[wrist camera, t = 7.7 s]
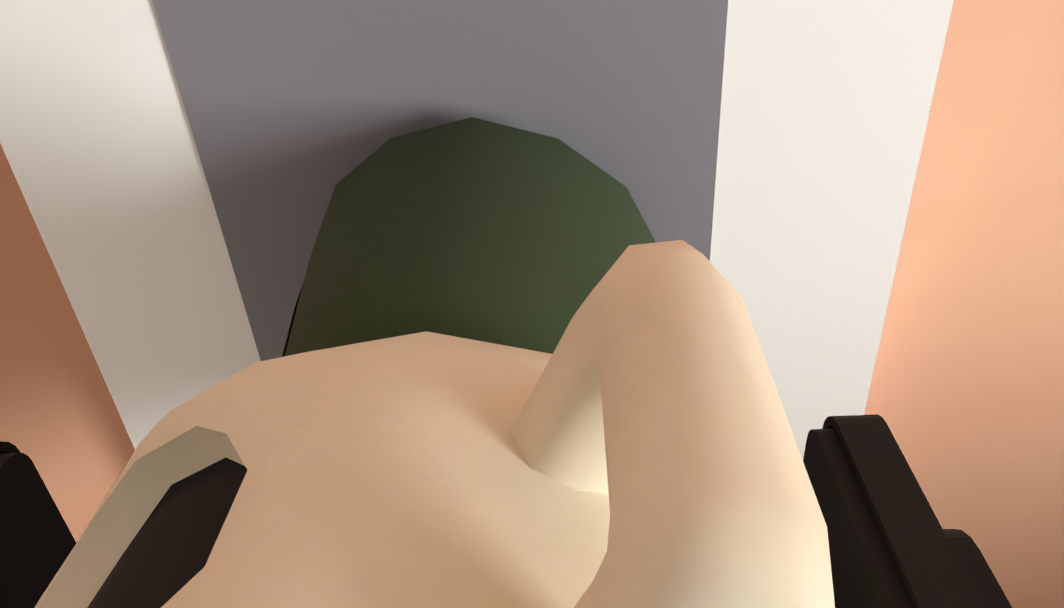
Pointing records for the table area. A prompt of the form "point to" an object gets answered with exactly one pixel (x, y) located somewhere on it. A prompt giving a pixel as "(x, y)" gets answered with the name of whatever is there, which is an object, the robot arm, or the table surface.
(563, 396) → the character mug
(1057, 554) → the table surface
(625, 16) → the board
